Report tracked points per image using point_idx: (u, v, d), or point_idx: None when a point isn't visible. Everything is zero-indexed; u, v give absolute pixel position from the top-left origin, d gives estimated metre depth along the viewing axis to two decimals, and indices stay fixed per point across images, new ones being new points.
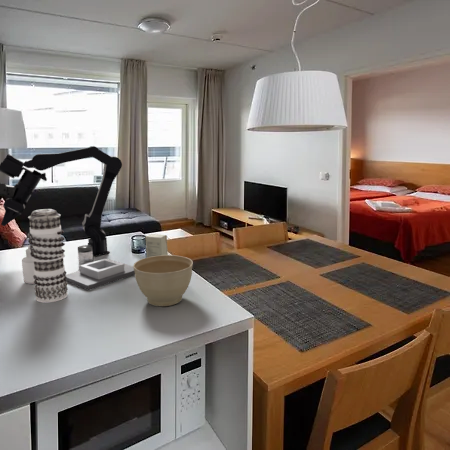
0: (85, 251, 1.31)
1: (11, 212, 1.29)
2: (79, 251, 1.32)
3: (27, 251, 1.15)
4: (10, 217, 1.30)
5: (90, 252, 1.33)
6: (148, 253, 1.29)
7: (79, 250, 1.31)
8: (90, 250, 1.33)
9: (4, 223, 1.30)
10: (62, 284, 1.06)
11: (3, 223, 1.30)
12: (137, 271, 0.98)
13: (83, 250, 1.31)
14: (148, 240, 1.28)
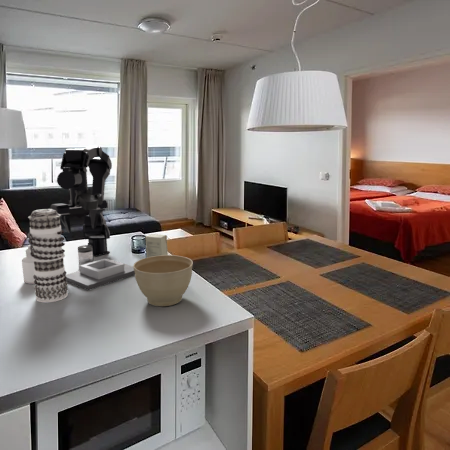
0: (85, 251, 1.31)
1: None
2: (79, 251, 1.32)
3: (27, 251, 1.15)
4: None
5: (90, 252, 1.33)
6: (148, 253, 1.29)
7: (79, 250, 1.31)
8: (90, 250, 1.33)
9: None
10: (62, 284, 1.06)
11: None
12: (137, 271, 0.98)
13: (83, 250, 1.31)
14: (148, 240, 1.28)
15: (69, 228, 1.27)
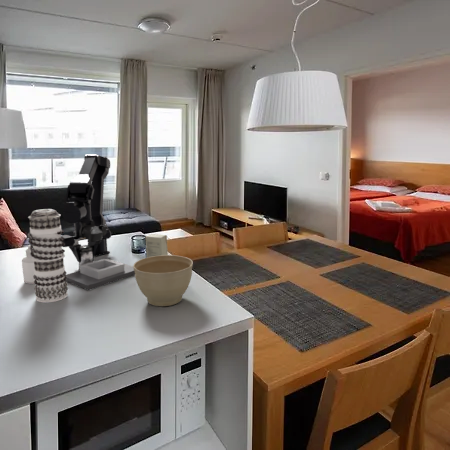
0: (85, 251, 1.31)
1: None
2: None
3: (27, 251, 1.15)
4: None
5: (90, 252, 1.33)
6: (148, 253, 1.29)
7: None
8: (90, 250, 1.33)
9: None
10: (62, 284, 1.06)
11: None
12: (137, 271, 0.98)
13: (83, 250, 1.31)
14: (148, 240, 1.28)
15: (79, 258, 1.31)
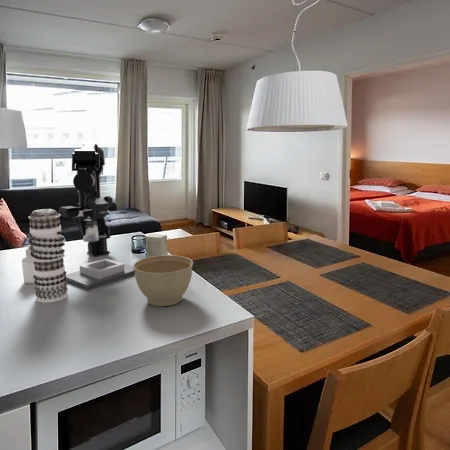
0: (90, 224, 1.24)
1: None
2: None
3: (27, 251, 1.15)
4: None
5: (95, 225, 1.25)
6: (148, 253, 1.29)
7: None
8: (95, 223, 1.25)
9: None
10: (62, 284, 1.06)
11: None
12: (137, 271, 0.98)
13: (88, 222, 1.24)
14: (148, 240, 1.28)
15: (84, 231, 1.24)
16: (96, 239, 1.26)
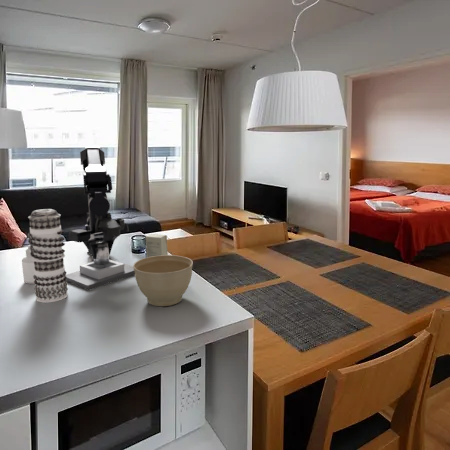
0: (101, 247, 1.20)
1: None
2: None
3: (27, 251, 1.15)
4: None
5: (106, 248, 1.21)
6: (148, 253, 1.29)
7: None
8: (106, 245, 1.21)
9: None
10: (62, 284, 1.06)
11: None
12: (137, 271, 0.98)
13: (99, 245, 1.20)
14: (148, 240, 1.28)
15: (95, 254, 1.20)
16: (107, 262, 1.22)
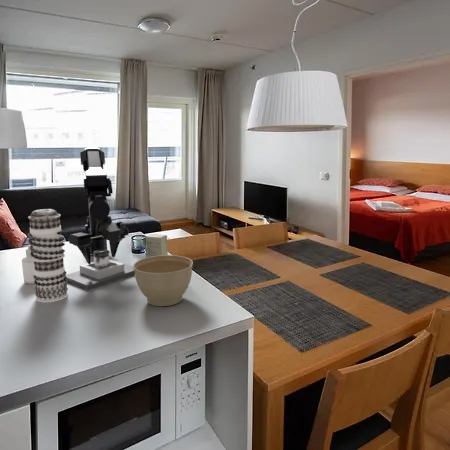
0: (101, 256, 1.21)
1: None
2: (95, 256, 1.21)
3: (27, 251, 1.15)
4: None
5: (107, 257, 1.22)
6: (148, 253, 1.29)
7: (95, 255, 1.21)
8: (107, 255, 1.22)
9: None
10: (62, 284, 1.06)
11: None
12: (137, 271, 0.98)
13: (99, 255, 1.20)
14: (148, 240, 1.28)
15: (89, 259, 1.18)
16: None
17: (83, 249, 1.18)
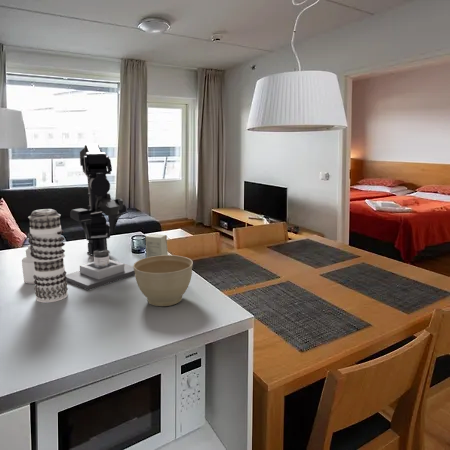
0: (102, 256, 1.21)
1: None
2: (95, 256, 1.21)
3: (27, 251, 1.15)
4: None
5: (107, 257, 1.22)
6: (148, 253, 1.29)
7: (95, 255, 1.21)
8: (107, 255, 1.22)
9: None
10: (62, 284, 1.06)
11: None
12: (137, 271, 0.98)
13: (99, 255, 1.20)
14: (148, 240, 1.28)
15: (89, 233, 1.25)
16: None
17: (83, 224, 1.25)
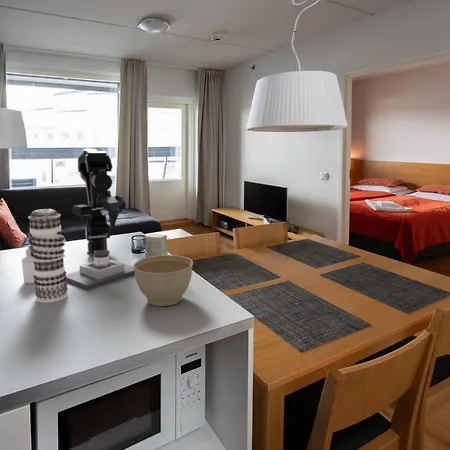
0: (102, 256, 1.21)
1: None
2: (95, 256, 1.21)
3: (27, 251, 1.15)
4: None
5: (107, 257, 1.22)
6: (148, 253, 1.29)
7: (95, 255, 1.21)
8: (107, 255, 1.22)
9: None
10: (62, 284, 1.06)
11: None
12: (137, 271, 0.98)
13: (99, 255, 1.20)
14: (148, 240, 1.28)
15: (91, 228, 1.31)
16: None
17: (85, 219, 1.31)
